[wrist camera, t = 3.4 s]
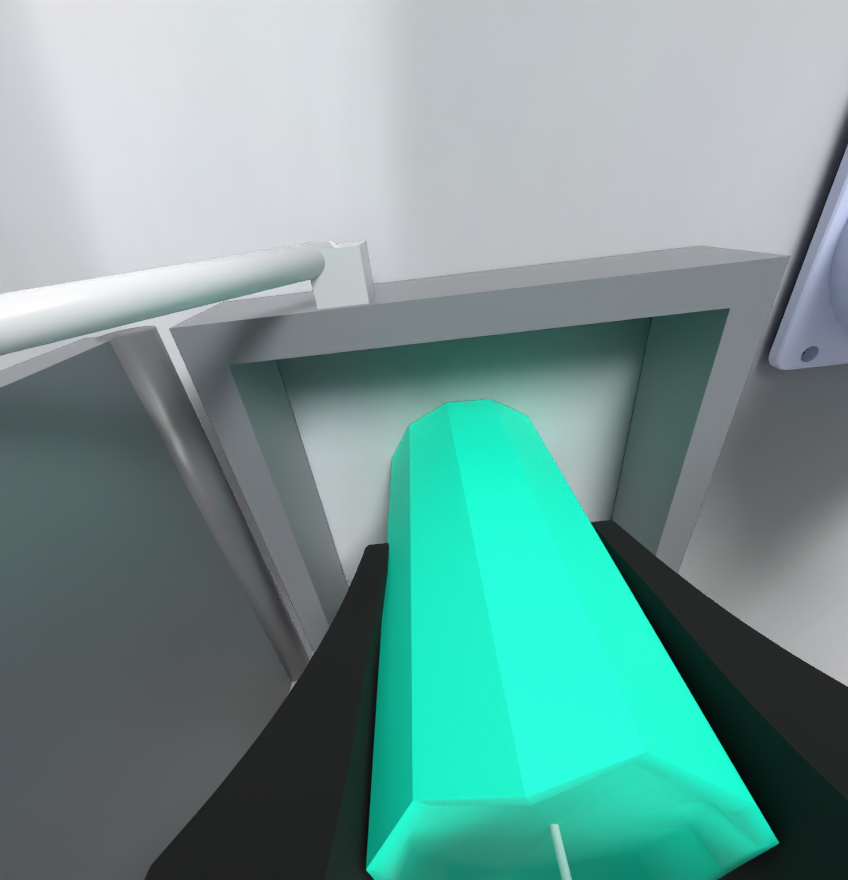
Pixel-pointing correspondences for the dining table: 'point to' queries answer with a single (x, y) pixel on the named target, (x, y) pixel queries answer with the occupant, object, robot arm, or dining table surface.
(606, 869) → the candle
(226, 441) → the grey bracket
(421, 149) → the dining table surface
